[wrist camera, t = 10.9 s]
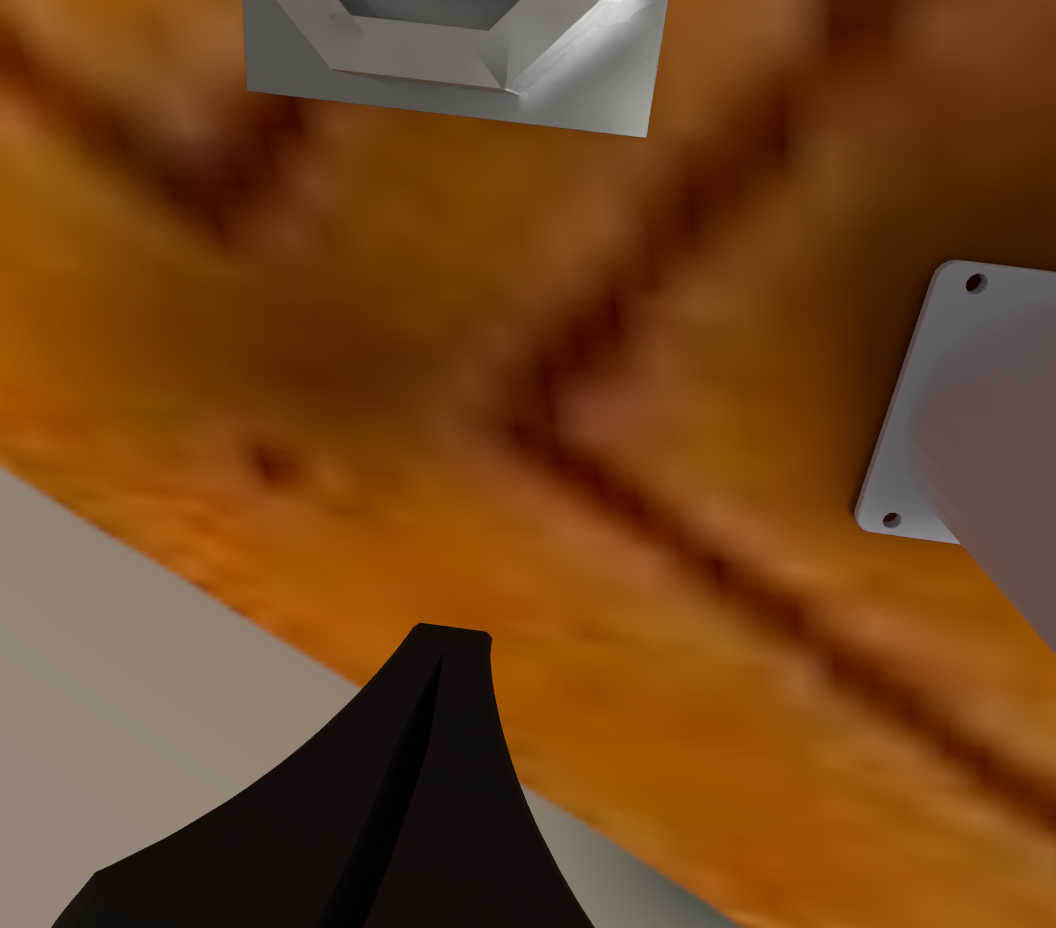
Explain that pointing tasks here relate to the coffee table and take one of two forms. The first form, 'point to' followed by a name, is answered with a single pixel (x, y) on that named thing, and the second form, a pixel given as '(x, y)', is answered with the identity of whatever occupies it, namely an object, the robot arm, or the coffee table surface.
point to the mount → (465, 57)
